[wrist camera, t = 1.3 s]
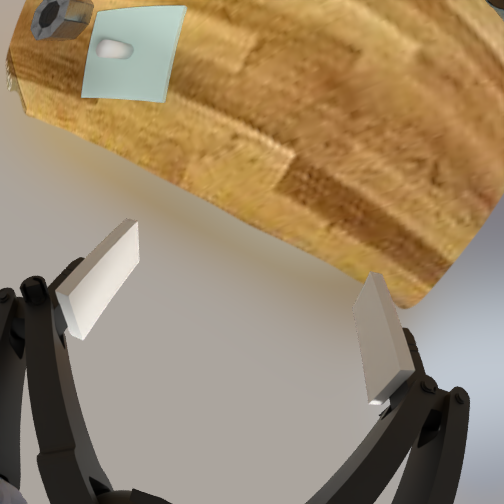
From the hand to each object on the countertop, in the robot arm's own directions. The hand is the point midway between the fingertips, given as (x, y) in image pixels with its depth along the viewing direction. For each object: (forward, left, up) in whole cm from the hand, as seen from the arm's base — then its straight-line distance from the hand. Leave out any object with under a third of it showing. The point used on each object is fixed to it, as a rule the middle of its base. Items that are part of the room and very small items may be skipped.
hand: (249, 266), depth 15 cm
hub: (-19, -36, -24) cm, 47 cm away
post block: (-12, -23, -24) cm, 35 cm away
